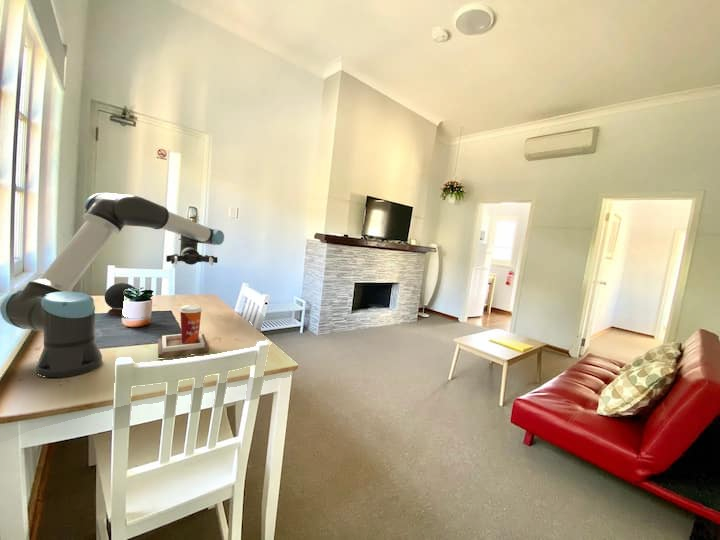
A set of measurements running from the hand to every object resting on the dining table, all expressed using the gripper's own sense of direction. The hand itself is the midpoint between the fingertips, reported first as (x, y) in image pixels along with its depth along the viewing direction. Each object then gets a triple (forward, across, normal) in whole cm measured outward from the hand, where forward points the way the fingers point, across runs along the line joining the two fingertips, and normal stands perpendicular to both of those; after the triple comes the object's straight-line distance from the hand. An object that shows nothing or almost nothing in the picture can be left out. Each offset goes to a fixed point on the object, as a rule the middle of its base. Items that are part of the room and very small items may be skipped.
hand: (194, 261), depth 132 cm
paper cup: (+17, +2, -30) cm, 34 cm away
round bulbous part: (-40, +28, -32) cm, 58 cm away
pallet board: (+17, +5, -32) cm, 36 cm away
